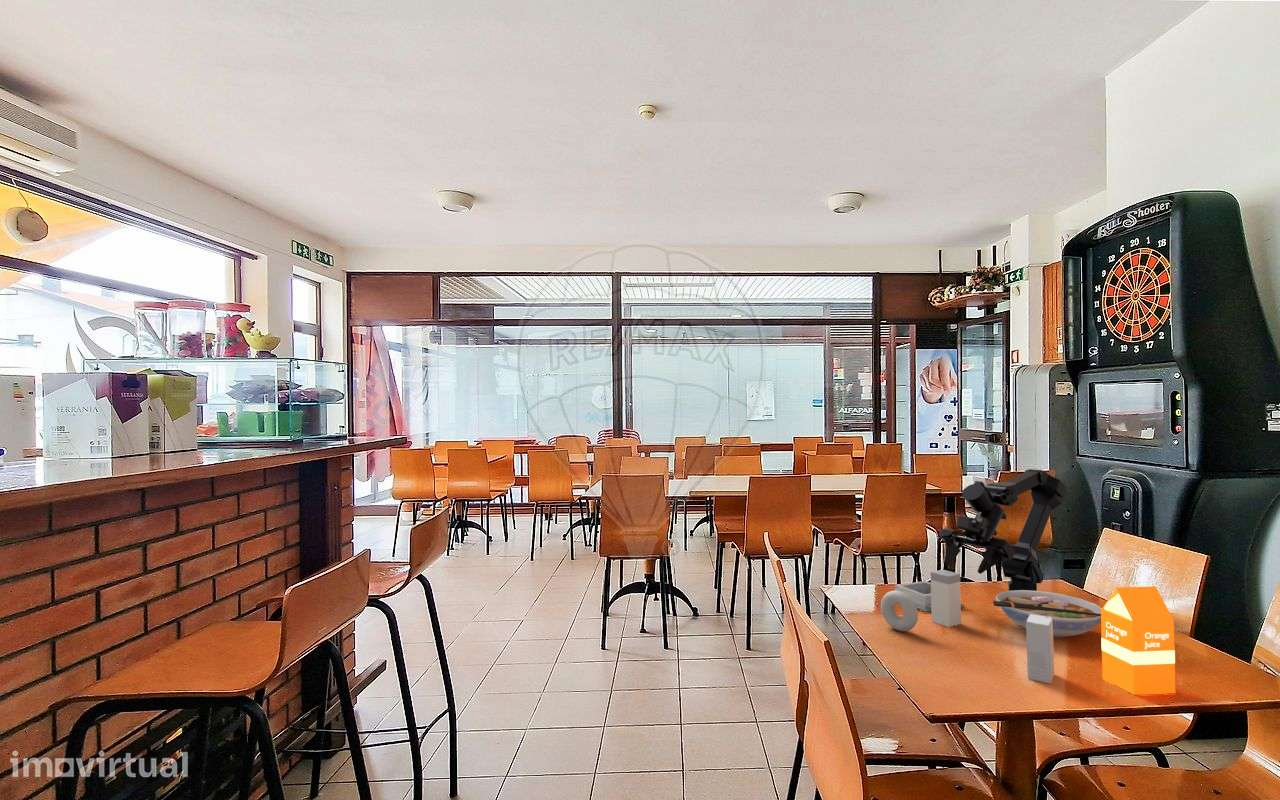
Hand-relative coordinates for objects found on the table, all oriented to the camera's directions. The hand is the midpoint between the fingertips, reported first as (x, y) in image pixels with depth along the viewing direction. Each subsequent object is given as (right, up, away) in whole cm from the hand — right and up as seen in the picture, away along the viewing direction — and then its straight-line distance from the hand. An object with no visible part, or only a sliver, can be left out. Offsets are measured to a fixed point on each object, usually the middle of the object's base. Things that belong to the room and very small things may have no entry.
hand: (962, 568), depth 166 cm
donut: (-21, -13, -10) cm, 27 cm away
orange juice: (+13, -12, -42) cm, 46 cm away
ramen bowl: (+15, -13, -12) cm, 23 cm away
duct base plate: (-4, -13, +12) cm, 18 cm away
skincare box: (-3, -13, -37) cm, 39 cm away
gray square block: (-7, -13, -4) cm, 15 cm away
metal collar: (-4, -13, +12) cm, 18 cm away
